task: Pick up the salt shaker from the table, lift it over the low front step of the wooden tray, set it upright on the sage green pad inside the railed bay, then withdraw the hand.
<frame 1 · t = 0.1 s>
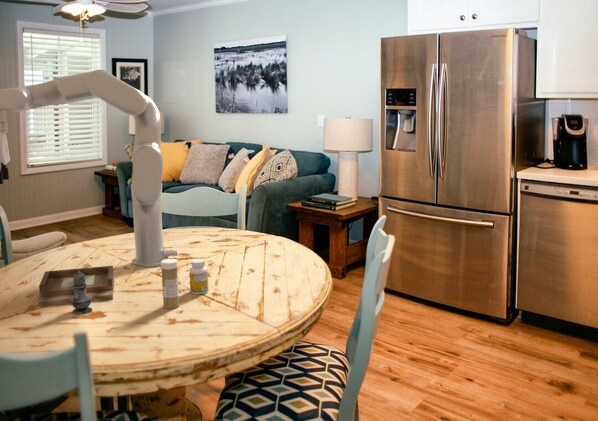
hand: (0, 181, 190), 31 cm above the table, tool pointing down, fingers open, 9 cm apart
wooden tray: (79, 290, 180), on the table
sprinkles bottle: (171, 307, 167), on the table
salt shaker: (82, 311, 164), on the table
supplement bottle: (199, 292, 179), on the table
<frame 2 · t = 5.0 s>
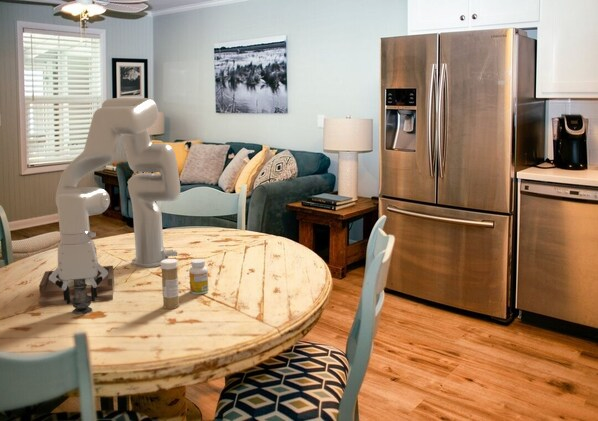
hand: (81, 300, 163), 3 cm above the table, tool pointing down, fingers closed on salt shaker, 5 cm apart
salt shaker: (82, 311, 164), on the table, touching gripper
everything else where it was.
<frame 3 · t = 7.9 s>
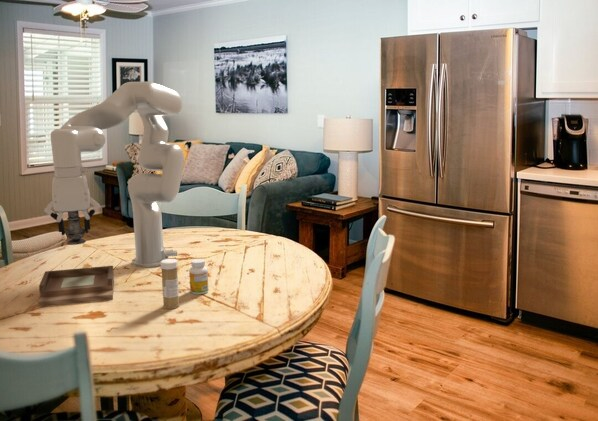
hand: (75, 232, 174), 19 cm above the table, tool pointing down, fingers closed on salt shaker, 5 cm apart
salt shaker: (76, 242, 175), point 16 cm above the table, touching gripper
everything else where it was.
when the fingers open (7 cm above the table, at t = 10.9 s): salt shaker drops 1 cm, resting on wooden tray.
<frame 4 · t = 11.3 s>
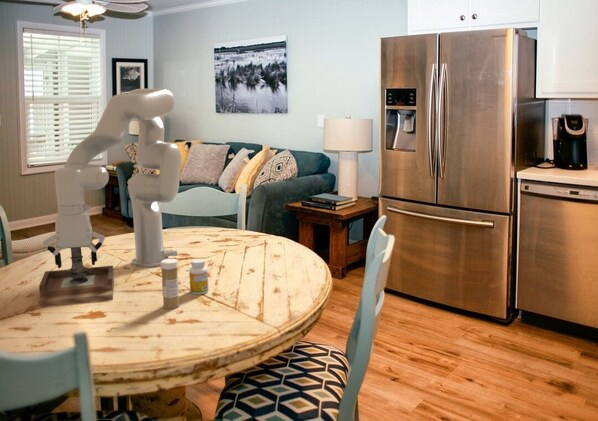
hand: (76, 265, 178), 8 cm above the table, tool pointing down, fingers open, 9 cm apart
salt shaker: (78, 281, 180), point 3 cm above the table, touching wooden tray
everything else where it was.
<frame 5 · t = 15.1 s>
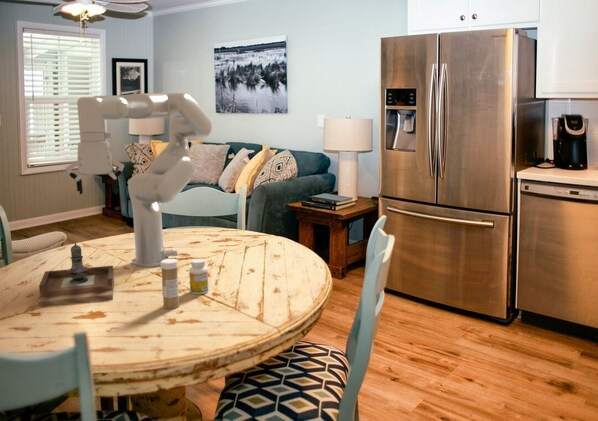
hand: (97, 192, 186), 28 cm above the table, tool pointing down, fingers open, 9 cm apart
nothing on the table moved.
at the end: salt shaker inside the target area on the wooden tray (0.1 cm from its centre), point 3.0 cm above the wooden tray's base; salt shaker tilted 0°; the gripper is holding nothing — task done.
